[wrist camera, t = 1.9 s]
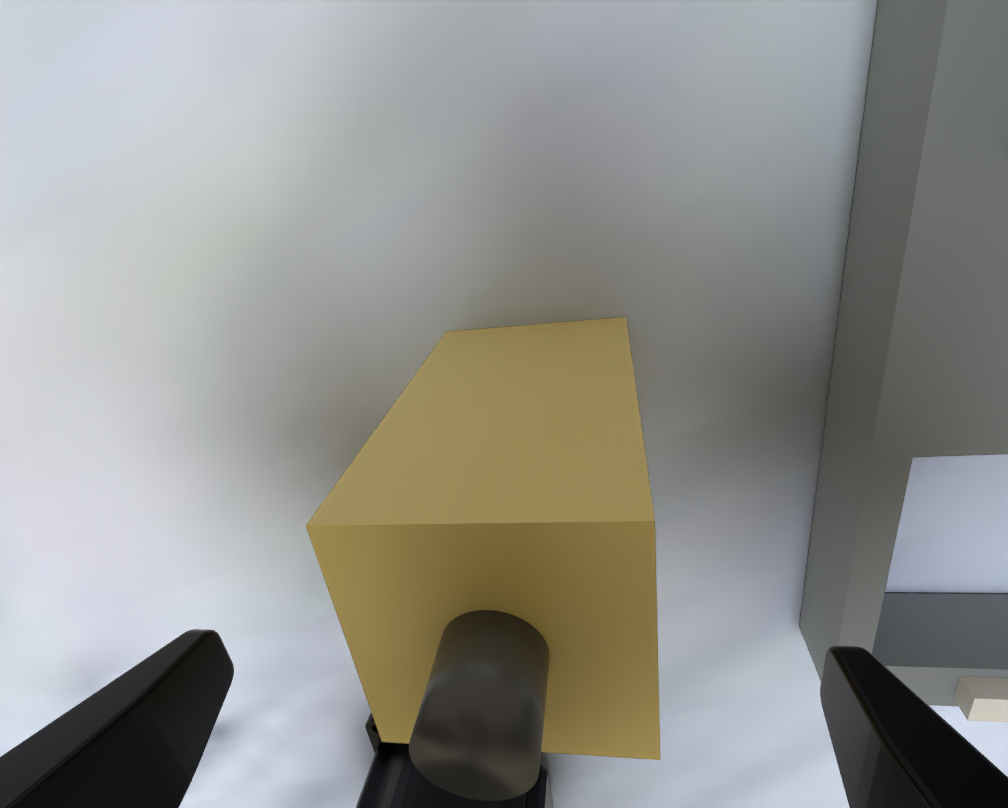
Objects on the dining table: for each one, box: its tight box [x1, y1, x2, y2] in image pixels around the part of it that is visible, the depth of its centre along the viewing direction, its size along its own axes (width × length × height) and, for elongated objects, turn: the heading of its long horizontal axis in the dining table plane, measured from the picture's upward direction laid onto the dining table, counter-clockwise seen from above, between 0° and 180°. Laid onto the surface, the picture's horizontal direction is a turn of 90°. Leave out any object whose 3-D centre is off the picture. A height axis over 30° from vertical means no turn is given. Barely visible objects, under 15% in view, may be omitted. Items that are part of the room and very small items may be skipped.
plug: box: [306, 317, 660, 801], centre depth 11 cm, size 5×5×10 cm
